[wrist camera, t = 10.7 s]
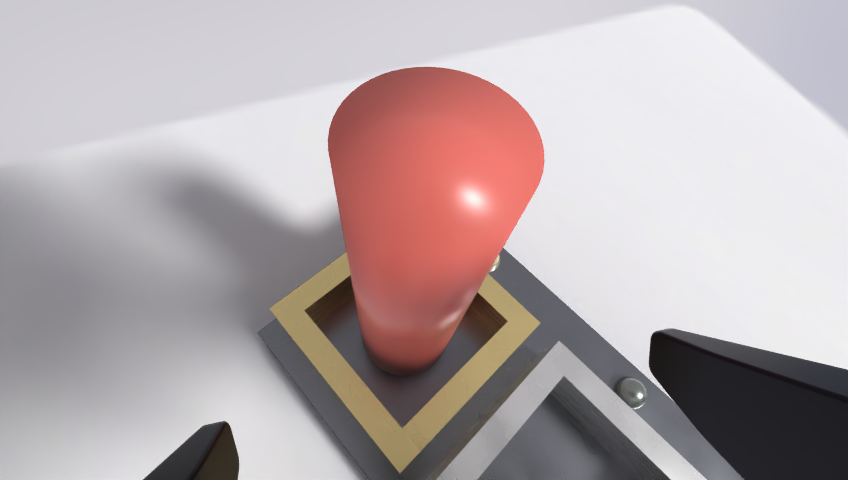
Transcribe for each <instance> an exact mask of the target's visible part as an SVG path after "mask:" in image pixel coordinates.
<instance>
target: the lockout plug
mask: <svg viewBox="0 0 848 480" xmlns="http://www.w3.org/2000/svg"><path fill="white" fill-rule="evenodd" d="M328 151H329V157H330V162H331V168H332V173H333V179H334V185H335V190H336V196H337V201H338V207H339V213H340V218H341V224H342V229H343V235H344V240H345V246H346V252H347V257H348V263H349V268H350V274H351V279H352V285H353V291H354V296H355V302H356V307H357V313H358V319H359V324H360V330H361V335H362V341H363V345H364V348H365V351H366V353H367V355H368V356H369V358H370V359H371V361H372V362H373V363H374V364H375V365H376V366H378V367H379V368H380V369H382V370H384V371H385V372H388V373H390V374H393V375H398V376H411V375H416V374H419V373H421V372H424V371H425V370H427V369H429V368H430V367H431V366H433V365H434V364H435V363H436V362H437V360H438V359H439V358H440V356H441V355H442V353H443V351H444V349H445V348H446V346H447V344H448V342H449V341H450V339H451V337H452V335H453V334H454V332H455V330H456V328H457V327H458V325H459V323H460V321H461V320H462V318H463V316H464V314H465V313H466V311H467V309H468V307H469V306H470V304H471V302H472V301H473V299H474V297H475V295H476V294H477V292H478V290H479V288H480V287H481V285H482V283H483V281H484V280H485V278H486V276H487V274H488V273H489V271H490V269H491V267H492V266H493V264H494V262H495V260H496V259H497V257H498V255H499V253H500V252H501V250H502V248H503V247H504V245H505V243H506V241H507V240H508V238H509V236H510V234H511V233H512V231H513V229H514V227H515V226H516V224H517V222H518V220H519V219H520V217H521V215H522V213H523V212H524V210H525V208H526V206H527V205H528V203H529V201H530V199H531V198H532V196H533V194H534V192H535V191H536V189H537V187H538V185H539V183H540V180H541V177H542V173H543V167H544V149H543V144H542V140H541V137H540V134H539V131H538V129H537V127H536V125H535V124H534V122H533V120H532V119H531V117H530V116H529V114H528V113H527V112H526V110H525V109H524V108H523V107H522V106H521V105H520V104H519V103H518V102H517V101H516V100H515V99H514V98H513V97H511V96H510V95H509V94H508V93H506V92H505V91H503V90H502V89H501V88H499V87H497V86H495V85H494V84H492V83H490V82H488V81H486V80H484V79H481V78H479V77H477V76H474V75H471V74H468V73H465V72H461V71H457V70H452V69H446V68H437V67H414V68H405V69H400V70H396V71H391V72H388V73H385V74H382V75H380V76H377V77H375V78H373V79H371V80H369V81H367V82H365V83H364V84H362V85H360V86H359V87H358V88H357V89H355V90H354V91H353V92H351V93H350V94H349V95H348V96H347V98H346V99H345V100H344V101H343V102H342V103H341V105H340V106H339V108H338V109H337V111H336V113H335V115H334V117H333V119H332V122H331V125H330V128H329V136H328Z"/></svg>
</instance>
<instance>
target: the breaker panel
mask: <svg viewBox="0 0 848 480" xmlns="http://www.w3.org/2000/svg"><path fill="white" fill-rule="evenodd" d="M269 309H270V311H271V312H272V313H273V315H274V316H275V317H276V319H275V320H274V321H272V322H271V323H270V324H268V325H267V326H266V327H264V328H263V329H262V330H260V331H259V332H258V334H259V335H260V337H261V338H262V339H263V341H264V342H265V343H266V345H267V346H268V347H269V348H270V350H271V351H272V352H273V354H274V355H275V356H276V358H277V359H278V360H279V362H280V363H281V364H282V365H283V367H284V368H285V369H286V371H287V372H288V373H289V375H290V376H291V377H292V379H293V380H294V381H295V382H296V384H297V385H298V386H299V388H300V389H301V390H302V392H303V393H304V394H305V396H306V397H307V398H308V400H309V401H310V402H311V403H312V405H313V406H314V407H315V409H316V410H317V411H318V413H319V414H320V415H321V417H322V418H323V419H324V420H325V422H326V423H327V424H328V426H329V427H330V428H331V430H332V431H333V432H334V434H335V435H336V436H337V437H338V439H339V440H340V441H341V443H342V444H343V445H344V447H345V448H346V449H347V451H348V452H349V453H350V455H351V456H352V457H353V458H354V460H355V461H356V462H357V464H358V465H359V466H360V468H361V469H362V470H363V472H364V473H365V474H366V475H367V477H368V478H369V479H370V480H744V479H743V478H742V477H741V476H740V475H739V474H738V473H737V472H736V471H735V470H734V469H733V468H732V467H731V465H730V464H729V463H728V462H727V461H726V460H725V459H724V458H723V457H722V456H721V455H720V454H719V453H718V452H717V451H716V450H715V449H714V448H713V447H712V446H711V444H710V443H709V442H708V441H707V440H706V439H705V438H704V437H703V436H702V435H701V434H700V432H699V431H698V430H697V429H696V428H695V426H694V425H693V424H692V423H691V422H690V420H689V419H688V418H687V417H686V415H685V414H684V413H683V412H682V410H681V409H680V408H679V407H678V405H677V404H676V403H675V402H674V401H672V400H671V399H670V398H669V397H668V396H667V395H666V394H665V393H664V392H662V391H661V390H660V389H659V388H658V387H657V386H656V385H655V384H654V383H652V382H651V381H650V380H649V379H648V378H647V377H646V376H645V375H644V374H642V373H641V372H640V371H639V370H638V369H637V368H636V367H635V366H634V365H632V364H631V363H630V362H629V361H628V360H627V359H626V358H625V357H624V356H622V355H621V354H620V353H619V352H618V351H617V350H616V349H615V348H614V347H613V346H611V345H610V344H609V343H608V342H607V341H606V340H605V339H604V338H603V337H601V336H600V335H599V334H598V333H597V332H596V331H595V330H594V329H593V328H591V327H590V326H589V325H588V324H587V323H586V322H585V321H584V320H583V319H581V318H580V317H579V316H578V315H577V314H576V313H575V312H574V311H573V310H571V309H570V308H569V307H568V306H567V305H566V304H565V303H564V302H563V301H561V300H560V299H559V298H558V297H557V296H556V295H555V294H554V293H553V292H552V291H550V290H549V289H548V288H547V287H546V286H545V285H544V284H543V283H542V282H540V281H539V280H538V279H537V278H536V277H535V276H534V275H533V274H532V273H530V272H529V271H528V270H527V269H526V268H525V267H524V266H523V265H522V264H520V263H519V262H518V261H517V260H516V259H515V258H514V257H513V256H512V255H510V254H509V253H508V252H507V251H506V250H505V249H504V248H502V250H501V252H500V253H499V255H498V257H497V259H496V260H495V262H494V264H493V266H492V267H491V269H490V271H489V273H488V274H487V276H486V278H485V280H484V281H483V283H482V285H481V287H480V288H479V290H478V292H477V294H476V295H475V297H474V299H473V301H472V302H471V304H470V306H469V307H468V309H467V311H466V313H465V314H464V316H463V318H462V320H461V321H460V323H459V325H458V327H457V328H456V330H455V332H454V334H453V335H452V337H451V339H450V341H449V342H448V344H447V346H446V348H445V349H444V351H443V353H442V355H441V356H440V358H439V359H438V360H437V362H436V363H435V364H434V365H433V366H431V367H430V368H429V369H427V370H425V371H424V372H421V373H419V374H416V375H411V376H398V375H393V374H390V373H388V372H385V371H384V370H382V369H380V368H379V367H378V366H376V365H375V364H374V363H373V362H372V361H371V359H370V358H369V356H368V355H367V353H366V351H365V348H364V345H363V341H362V335H361V330H360V324H359V319H358V313H357V307H356V302H355V296H354V291H353V285H352V279H351V274H350V268H349V263H348V257H347V252H345V253H344V254H343V255H341V256H340V257H339V258H337V259H336V260H335V261H333V262H332V263H330V264H329V265H328V266H326V267H325V268H324V269H322V270H321V271H320V272H318V273H317V274H315V275H314V276H313V277H311V278H310V279H309V280H307V281H306V282H305V283H303V284H302V285H300V286H299V287H298V288H296V289H295V290H294V291H292V292H291V293H290V294H288V295H287V296H285V297H284V298H283V299H281V300H280V301H279V302H277V303H276V304H274V305H273V306H272V307H270V308H269Z"/></svg>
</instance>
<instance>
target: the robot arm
mask: <svg viewBox="0 0 848 480" xmlns="http://www.w3.org/2000/svg"><path fill="white" fill-rule="evenodd" d="M649 368H650V370H651V372H652V374H653V376H654V377H655V378H656V379H657V381H658V382H659V383H660V384H661V386H662V387H663V388H664V389H665V391H666V392H667V393H668V394H669V396H670V397H671V398H672V399H673V400H674V402H675V403H676V404H677V405H678V407H679V408H680V409H681V410H682V412H683V413H684V414H685V415H686V417H687V418H688V419H689V420H690V422H691V423H692V424H693V425H694V426H695V428H696V429H697V430H698V431H699V432H700V434H701V435H702V436H703V437H704V438H705V439H706V440H707V441H708V442H709V443H710V444H711V446H712V447H713V448H714V449H715V450H716V451H717V452H718V453H719V454H720V455H721V456H722V457H723V458H724V459H725V460H726V461H727V462H728V463H729V464H730V465H731V467H732V468H733V469H734V470H735V471H736V472H737V473H738V474H739V475H740V476H741V477H742V478H743V479H744V480H848V370H847V369H842V368H838V367H834V366H830V365H825V364H821V363H817V362H813V361H808V360H804V359H800V358H796V357H792V356H787V355H783V354H779V353H775V352H770V351H766V350H762V349H758V348H753V347H749V346H745V345H741V344H736V343H732V342H728V341H724V340H719V339H715V338H711V337H707V336H703V335H698V334H694V333H690V332H686V331H681V330H677V329H664V330H659V331H656V332H654V333H653V334H652V336H651V342H650V354H649ZM238 473H239V457H238V453H237V449H236V445H235V442H234V438H233V435H232V431H231V428H230V425H229V424H228V423H227V422H225V421H222V422H218V423H213V424H208V425H204V426H202V427H201V428H200V429H199V430H198V431H196V432H195V433H194V434H193V435H192V436H191V437H190V438H189V439H188V440H186V441H185V442H184V443H183V444H182V445H181V446H180V447H179V448H178V449H176V450H175V451H174V452H173V453H172V454H171V455H170V456H169V457H168V458H167V459H165V460H164V461H163V462H162V463H161V464H160V465H159V466H158V467H157V468H155V469H154V470H153V471H152V472H151V473H150V474H149V475H148V476H147V477H145V478H144V479H143V480H238Z"/></svg>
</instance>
